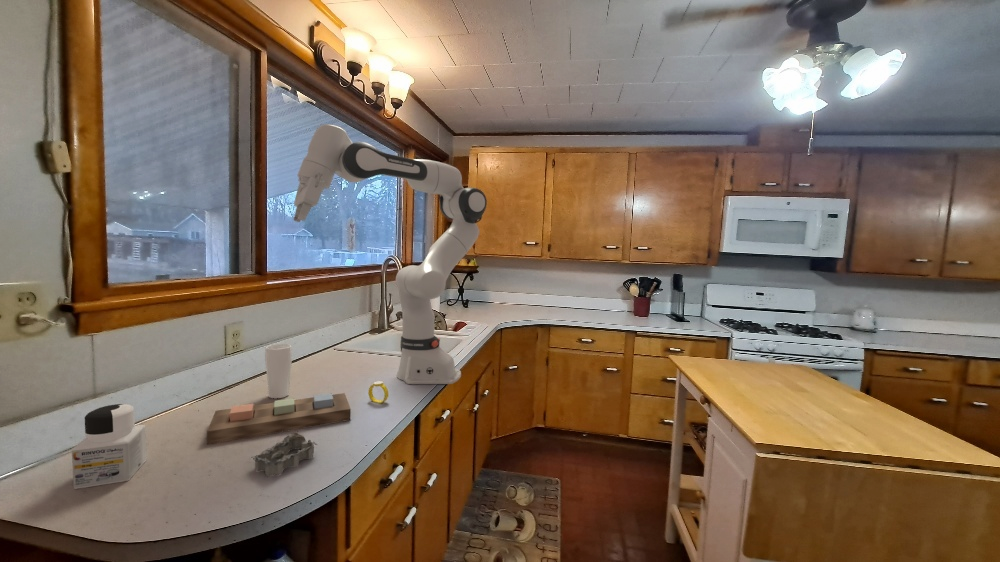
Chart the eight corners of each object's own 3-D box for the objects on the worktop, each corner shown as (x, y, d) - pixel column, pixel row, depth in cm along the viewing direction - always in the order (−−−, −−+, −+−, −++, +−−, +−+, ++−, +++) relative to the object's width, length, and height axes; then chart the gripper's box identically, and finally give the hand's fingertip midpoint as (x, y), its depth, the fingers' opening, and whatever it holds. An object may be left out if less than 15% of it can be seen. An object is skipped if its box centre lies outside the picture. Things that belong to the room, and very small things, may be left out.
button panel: (344, 403, 110) (344, 393, 110) (350, 420, 100) (350, 408, 99) (215, 422, 96) (215, 410, 95) (207, 444, 85) (206, 431, 85)
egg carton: (299, 447, 86) (299, 429, 86) (320, 456, 83) (320, 438, 82) (248, 469, 77) (248, 449, 77) (270, 481, 73) (270, 460, 73)
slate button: (331, 403, 105) (331, 393, 105) (333, 409, 101) (333, 398, 101) (313, 406, 103) (313, 395, 102) (314, 412, 99) (314, 401, 99)
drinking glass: (297, 392, 117) (296, 344, 115) (282, 401, 110) (281, 349, 109) (276, 390, 117) (275, 342, 116) (260, 399, 111) (259, 348, 109)
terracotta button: (253, 415, 96) (253, 403, 96) (252, 422, 92) (252, 410, 92) (232, 418, 94) (232, 406, 94) (230, 425, 90) (229, 413, 90)
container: (72, 490, 68) (68, 419, 67) (97, 467, 75) (94, 403, 74) (129, 481, 71) (126, 413, 70) (147, 460, 78) (145, 398, 77)
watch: (367, 403, 112) (366, 383, 111) (373, 399, 114) (372, 380, 114) (384, 405, 110) (383, 384, 109) (390, 401, 112) (389, 381, 112)
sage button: (294, 409, 100) (294, 398, 100) (294, 415, 97) (294, 404, 96) (274, 412, 98) (274, 400, 98) (274, 418, 94) (274, 407, 94)
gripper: (333, 176, 105) (316, 223, 104) (320, 185, 122) (304, 226, 121) (309, 166, 102) (291, 214, 100) (299, 176, 119) (283, 218, 117)
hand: (298, 220), depth 111 cm, fingers open, 8 cm apart
